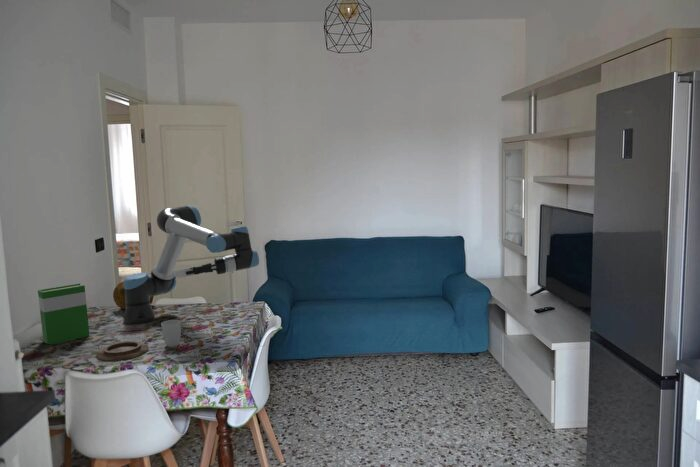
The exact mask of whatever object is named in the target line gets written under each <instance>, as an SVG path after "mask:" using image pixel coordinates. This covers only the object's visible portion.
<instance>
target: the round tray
mask: <svg viewBox="0 0 700 467" xmlns="http://www.w3.org/2000/svg"><path fill="white" fill-rule="evenodd" d="M148 351H149V345H148V344H147V343H143V342H140V341H137V340H135V341H132V340H129V341H119V342H116V343H112V344H109V345H107V346H105V347H104V348H102V349H100V350H99V351H98V352H96V358H97V359H98V360H99V361H104V362H118V361H124V360H130V359H133V358H137V357H139V356H142V355H143V354H146V353H147V352H148Z"/></svg>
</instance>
